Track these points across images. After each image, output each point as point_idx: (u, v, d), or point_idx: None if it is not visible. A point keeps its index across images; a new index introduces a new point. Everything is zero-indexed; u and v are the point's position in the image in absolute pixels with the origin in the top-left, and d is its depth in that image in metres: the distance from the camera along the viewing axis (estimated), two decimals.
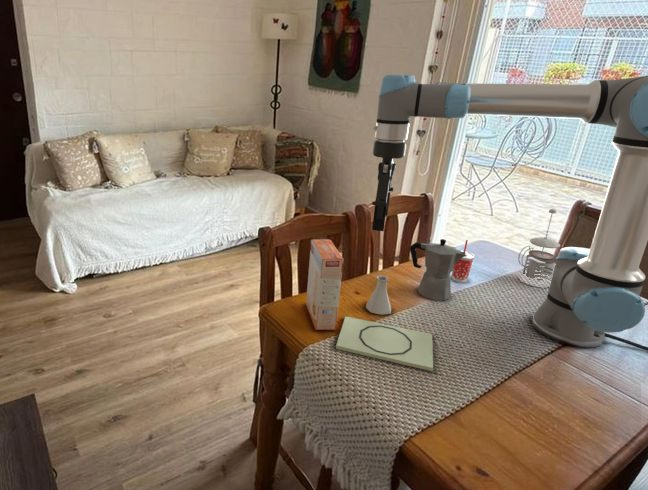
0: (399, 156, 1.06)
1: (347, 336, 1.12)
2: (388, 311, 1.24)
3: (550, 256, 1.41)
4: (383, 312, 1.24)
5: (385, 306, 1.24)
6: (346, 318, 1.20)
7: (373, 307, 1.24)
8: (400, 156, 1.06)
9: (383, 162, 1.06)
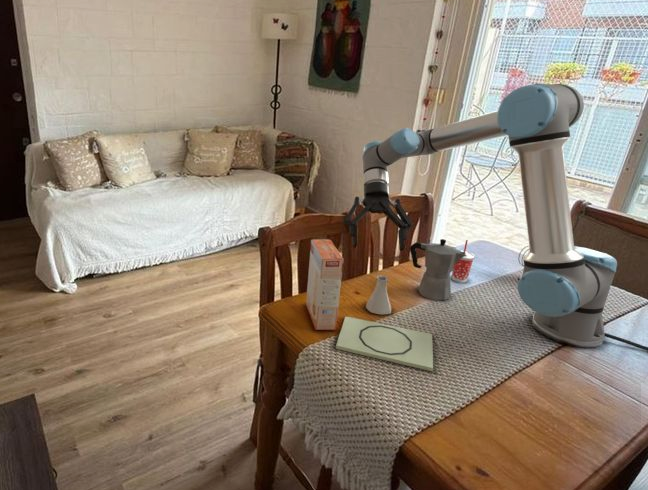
0: (369, 190, 1.37)
1: (347, 336, 1.12)
2: (388, 311, 1.24)
3: None
4: (383, 312, 1.24)
5: (385, 306, 1.24)
6: (346, 318, 1.20)
7: (373, 307, 1.24)
8: (370, 190, 1.37)
9: None
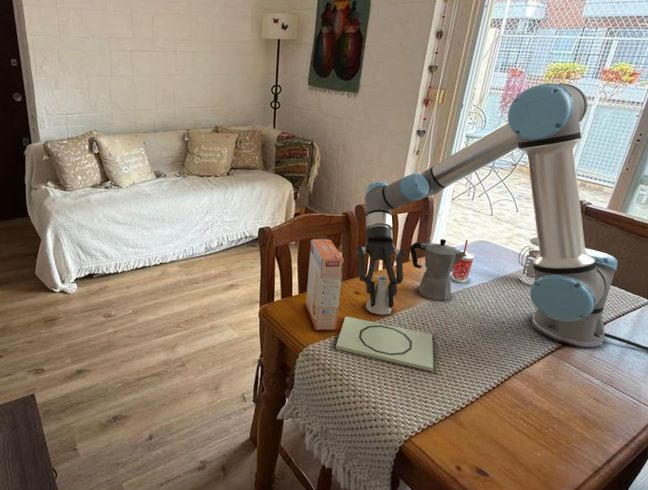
0: (372, 236, 1.29)
1: (347, 336, 1.12)
2: (388, 311, 1.24)
3: None
4: (383, 312, 1.24)
5: (385, 306, 1.24)
6: (346, 318, 1.20)
7: (373, 307, 1.24)
8: (373, 236, 1.29)
9: None
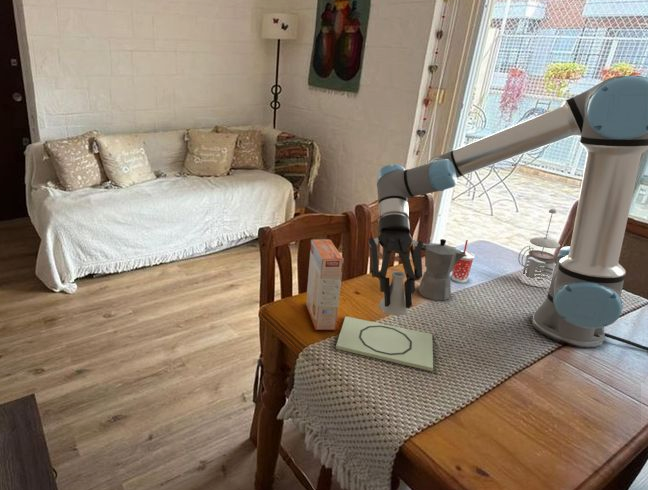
0: (386, 225, 1.12)
1: (347, 336, 1.12)
2: (405, 312, 1.07)
3: (550, 256, 1.41)
4: (399, 313, 1.07)
5: (401, 306, 1.07)
6: (346, 318, 1.20)
7: (388, 307, 1.08)
8: (387, 225, 1.12)
9: None
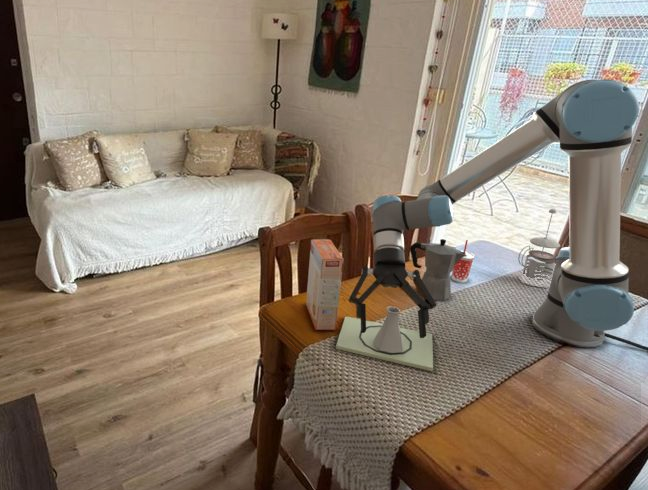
0: (381, 259, 1.10)
1: (347, 336, 1.12)
2: (400, 349, 1.05)
3: (550, 256, 1.41)
4: (394, 351, 1.05)
5: (396, 343, 1.05)
6: (346, 318, 1.20)
7: (383, 343, 1.05)
8: (382, 259, 1.10)
9: None
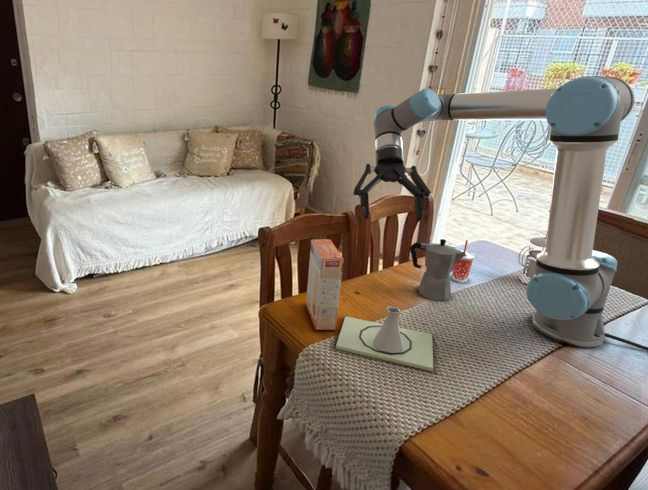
0: (382, 157, 1.24)
1: (347, 336, 1.12)
2: (400, 349, 1.05)
3: None
4: (394, 351, 1.05)
5: (396, 343, 1.05)
6: (346, 318, 1.20)
7: (383, 343, 1.05)
8: (383, 156, 1.24)
9: None
